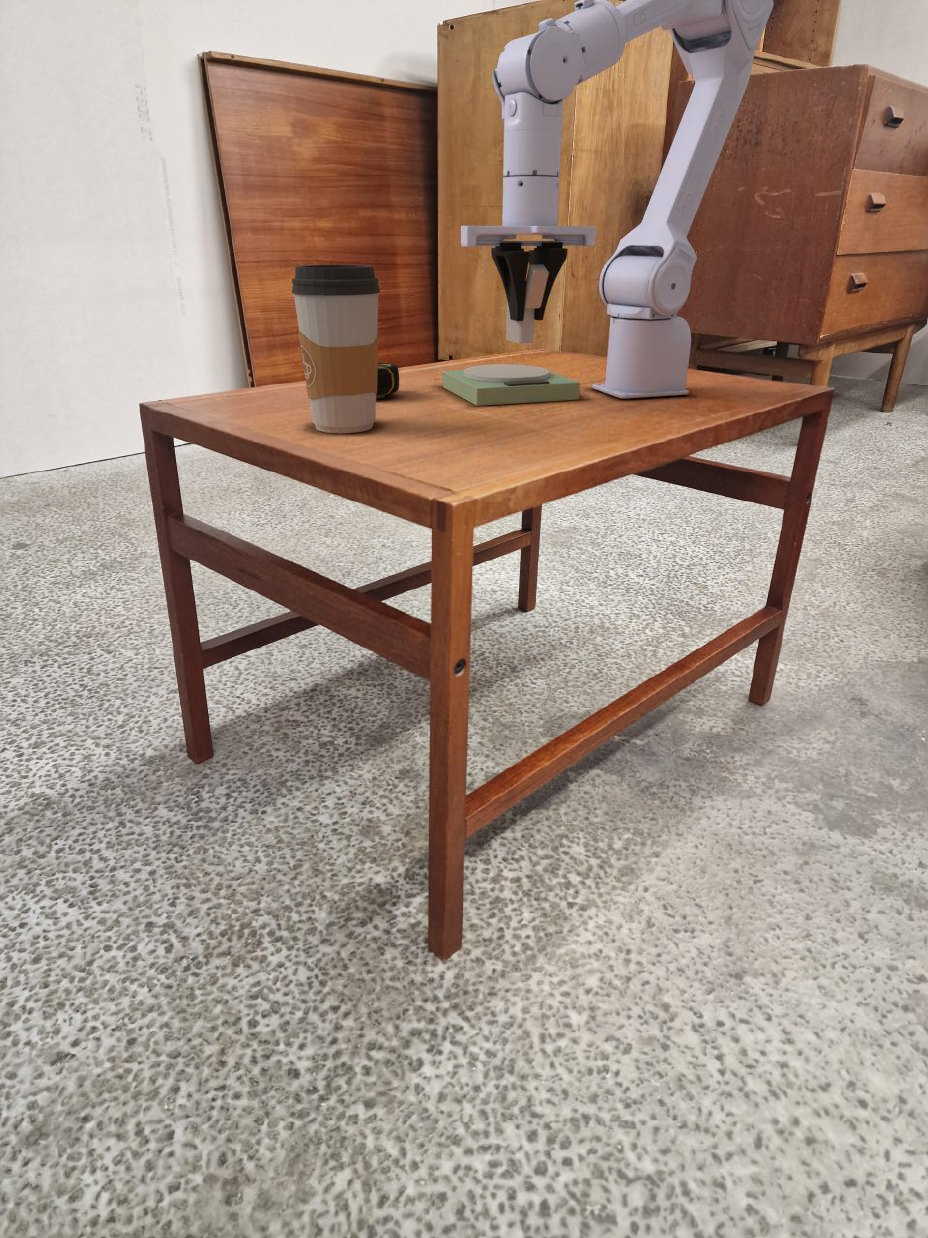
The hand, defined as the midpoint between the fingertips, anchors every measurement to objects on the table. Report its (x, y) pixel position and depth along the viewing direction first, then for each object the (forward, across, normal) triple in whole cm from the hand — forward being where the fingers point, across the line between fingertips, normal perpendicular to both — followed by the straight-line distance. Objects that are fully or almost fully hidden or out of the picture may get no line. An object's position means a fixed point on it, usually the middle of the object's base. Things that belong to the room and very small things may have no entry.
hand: (526, 319), depth 87 cm
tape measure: (+10, -15, +12) cm, 22 cm away
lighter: (+3, 0, 0) cm, 3 cm away
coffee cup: (+9, -22, -4) cm, 24 cm away
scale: (+9, +2, +8) cm, 13 cm away
